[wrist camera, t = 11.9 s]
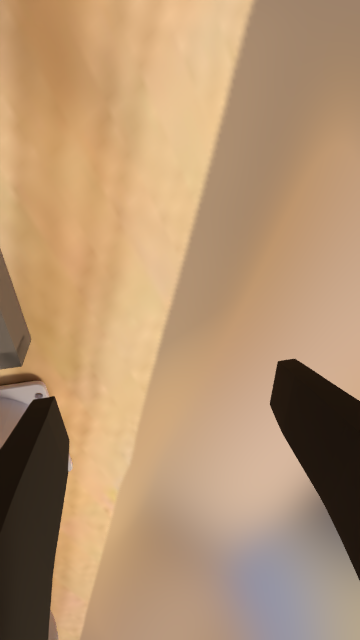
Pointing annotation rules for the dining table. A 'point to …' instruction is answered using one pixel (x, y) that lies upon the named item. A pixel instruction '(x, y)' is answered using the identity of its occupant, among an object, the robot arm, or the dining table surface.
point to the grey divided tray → (11, 323)
